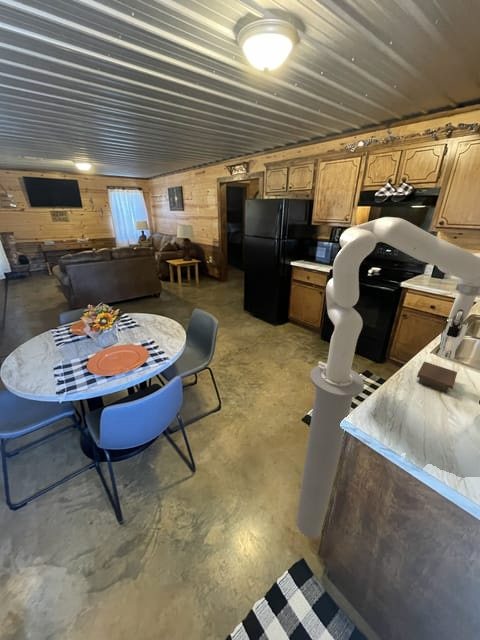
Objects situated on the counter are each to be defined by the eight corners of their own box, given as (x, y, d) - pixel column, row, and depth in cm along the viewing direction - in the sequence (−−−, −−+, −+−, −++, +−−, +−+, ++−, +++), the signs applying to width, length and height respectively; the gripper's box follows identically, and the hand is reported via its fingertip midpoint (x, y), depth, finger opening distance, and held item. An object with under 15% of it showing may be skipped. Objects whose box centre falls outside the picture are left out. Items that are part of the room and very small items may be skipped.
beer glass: (453, 361, 101) (467, 326, 95) (432, 354, 106) (444, 321, 100) (457, 355, 105) (470, 321, 99) (436, 348, 110) (448, 316, 104)
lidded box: (414, 382, 111) (417, 373, 109) (421, 369, 119) (424, 361, 118) (449, 395, 103) (453, 386, 101) (453, 380, 112) (457, 372, 110)
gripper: (459, 282, 102) (444, 323, 110) (453, 292, 91) (437, 337, 98) (484, 285, 98) (467, 328, 105) (481, 297, 86) (462, 344, 93)
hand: (453, 332), depth 101 cm, fingers closed on beer glass, 7 cm apart
